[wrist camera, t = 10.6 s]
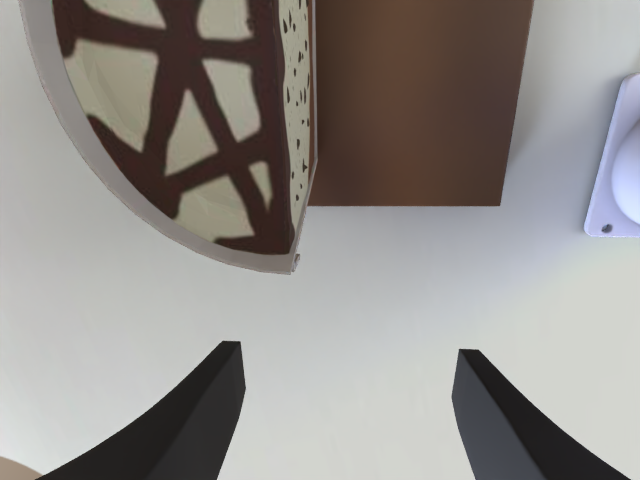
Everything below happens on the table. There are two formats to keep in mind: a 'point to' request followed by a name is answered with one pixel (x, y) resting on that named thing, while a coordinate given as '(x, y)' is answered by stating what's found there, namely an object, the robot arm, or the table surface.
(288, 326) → the table surface
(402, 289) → the table surface
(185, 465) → the robot arm
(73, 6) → the food container
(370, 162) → the walnut board
